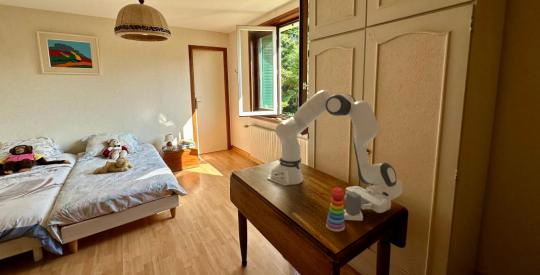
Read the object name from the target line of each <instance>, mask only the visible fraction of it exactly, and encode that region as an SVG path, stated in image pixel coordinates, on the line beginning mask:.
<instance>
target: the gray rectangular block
mask: <svg viewBox="0 0 540 275" xmlns="http://www.w3.org/2000/svg"><path fill="white" fill-rule="evenodd" d="M345 195H346V200H345V209H346V212H347V213H349V214H350V215H352V216H355V215H358V214H360V210H361V208H360V205H361V203H360V201H361V195H359V194H357V193H356V192H354V191H352V192H349V193H347V194H346V193H345Z"/></svg>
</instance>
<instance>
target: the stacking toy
mask: <svg viewBox="0 0 540 275" xmlns="http://www.w3.org/2000/svg"><path fill="white" fill-rule="evenodd" d="M344 196H345V191H344V189H342V188H341V187H335V188H333V189H332V190H331V199H330V203H329V208H328V209H329V211H328V212H327V219H326V223H325V227H326V228H327V229H328V230H330V231H332V232H341V231H344V230H345V229H346V225H345V221H346V220H345V218H344V209H345V208H344V207H345V206H344Z"/></svg>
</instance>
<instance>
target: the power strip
mask: <svg viewBox="0 0 540 275" xmlns="http://www.w3.org/2000/svg"><path fill="white" fill-rule="evenodd" d="M363 215H364V214H363V212H362V209H360V214H358V215H355V216H352V215H350V214H349V213H347V212H346V208H344V218H345V220H344V221H363V220H364V219H363V218H364V216H363Z"/></svg>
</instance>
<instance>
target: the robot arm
mask: <svg viewBox="0 0 540 275" xmlns="http://www.w3.org/2000/svg"><path fill="white" fill-rule="evenodd" d="M326 111H327V112H328V114H330V115H332V116H334V117H335V116H336V117H342V116H348V118H350V121H351V122H352V126H353V129H354V137H353V149H354V154H355V159H356V164H357V176H358V178H359V181H360V182H361V183H363V184H364V185H366V186H367V185H370V186H367V187H366V188H363V187H361V186H360V185H359V186H358V185H353V186H347V187H346V188H345V194H344V197H343V200H345V201H346V194H347V193H349V192H352V191H354V192H356V193H357V194H359V195H361V201H360V210H361V211H362V210H363V211H364V210H372V211H373V212H375V213H377V214H381V213H384V212H387V211H389V210H391V206H392V200H394V199H396V198H398V197H399V196H401V194H402V192H403V188H404V187H403V184H402V182H401V181H400V180H398V178H397V173H396V170H395V168H394V166H392V165H391V164H390V163H388V162H379V163H374V164H371V163H370V162H369V157H368V151H367V148H368V147H367V146H368V145H369V143H371V141H373V140H374V139H375V138H376V137H377V135H378V134H379V129H380V128H379V123H378V121H377V118H376V115H375V113H374V111H373V108H372V107H371V105H370V103H369V102H368V101H366V100H357V101H356V99H355V98H354V96H353V95H351V94H348V93H347V94H346V93H337V94H332V93H331V92H330V91H329V90H325V89H322V90H319V91H317V92H316V93H314V95H312V96H310V97H309V98H308V99H307V100H306V101H305V102H304V103H303V104H302V105H301V106H299V108H298V109H297V111H295V113H294V114H293V115H292V116H290V117H288V118H287V119H284V120H282V121H279V123H278V124H277V125H276V126H275V134H276V136H277V137H278V138H279V140H280V144H281V153H282V154H281V156H282V157H280V159H278V162H279V163H278V164H277V165H275V166H274V167H272V169H271V172H270V174H268V176H267V180H269V181H271V182H273V183H277V184H279V185H281V186H289V185H298V184H301V183H302V182H303V181H304V178H303V174H302V158H301V144H299V141H298V135H299V134H301V133H302V132H304V130H306V129H307V128H308V127H309V126H310V125H311V124H313V122H314V121H315V120H317V119H318V118H319V117H321V116H322V115H323V114H324V113H325V112H326Z"/></svg>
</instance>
